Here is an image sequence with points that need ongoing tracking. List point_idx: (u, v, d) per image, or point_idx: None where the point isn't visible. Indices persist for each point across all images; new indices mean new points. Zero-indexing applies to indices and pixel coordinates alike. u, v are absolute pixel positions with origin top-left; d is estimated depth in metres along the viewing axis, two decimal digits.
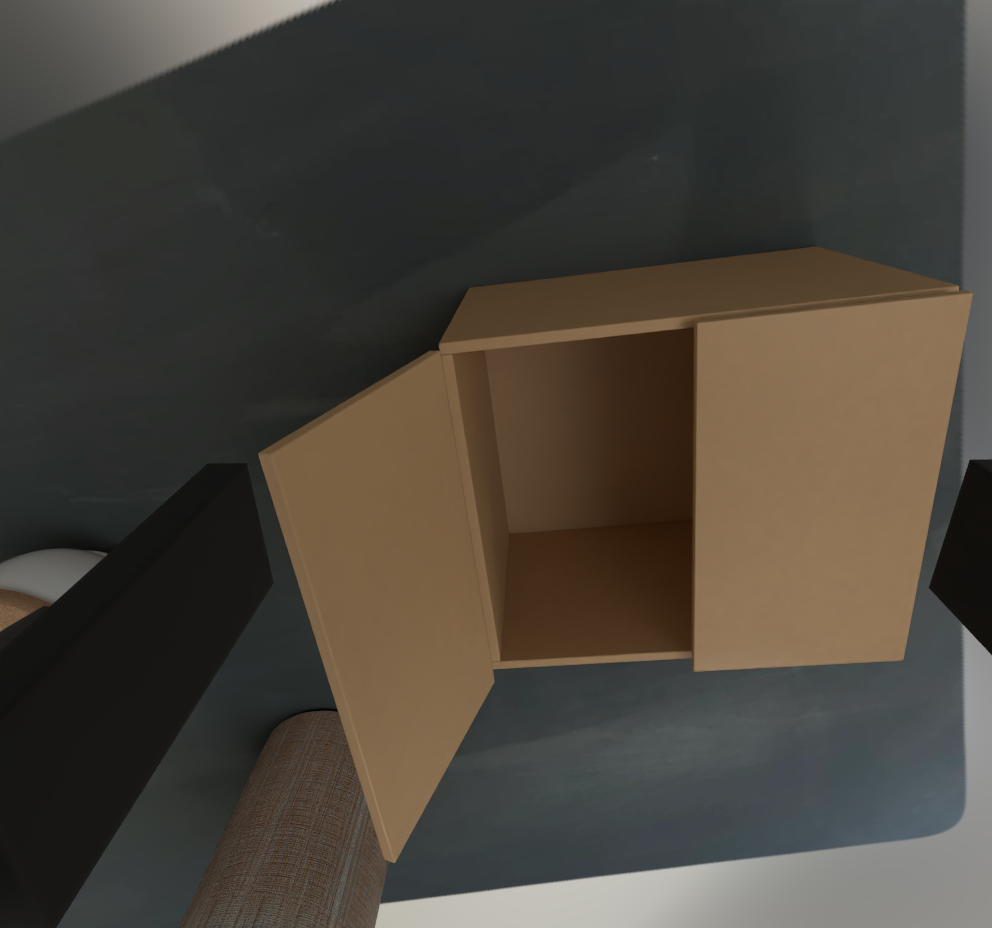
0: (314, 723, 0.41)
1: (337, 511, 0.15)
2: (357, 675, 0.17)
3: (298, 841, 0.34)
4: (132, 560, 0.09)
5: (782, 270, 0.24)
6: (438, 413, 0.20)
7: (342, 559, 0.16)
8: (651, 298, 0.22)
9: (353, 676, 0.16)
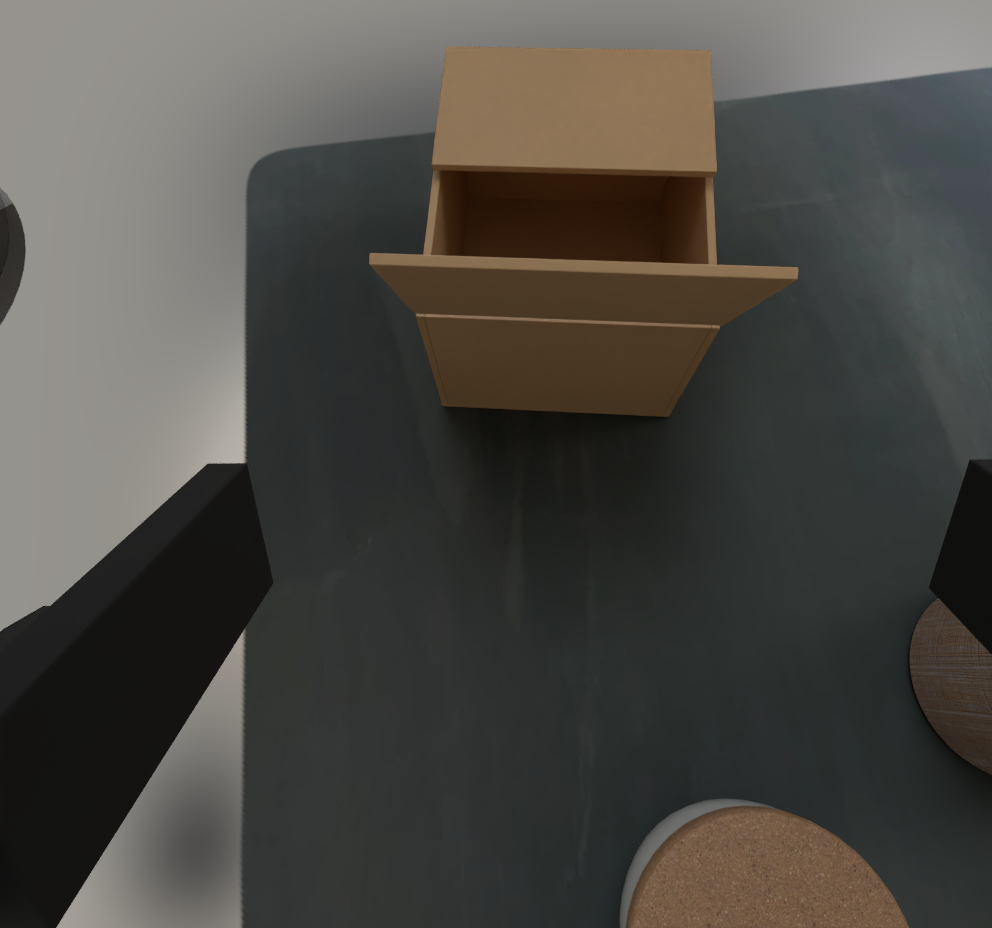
0: (922, 670, 0.32)
1: None
2: None
3: None
4: (132, 560, 0.09)
5: None
6: None
7: None
8: None
9: None
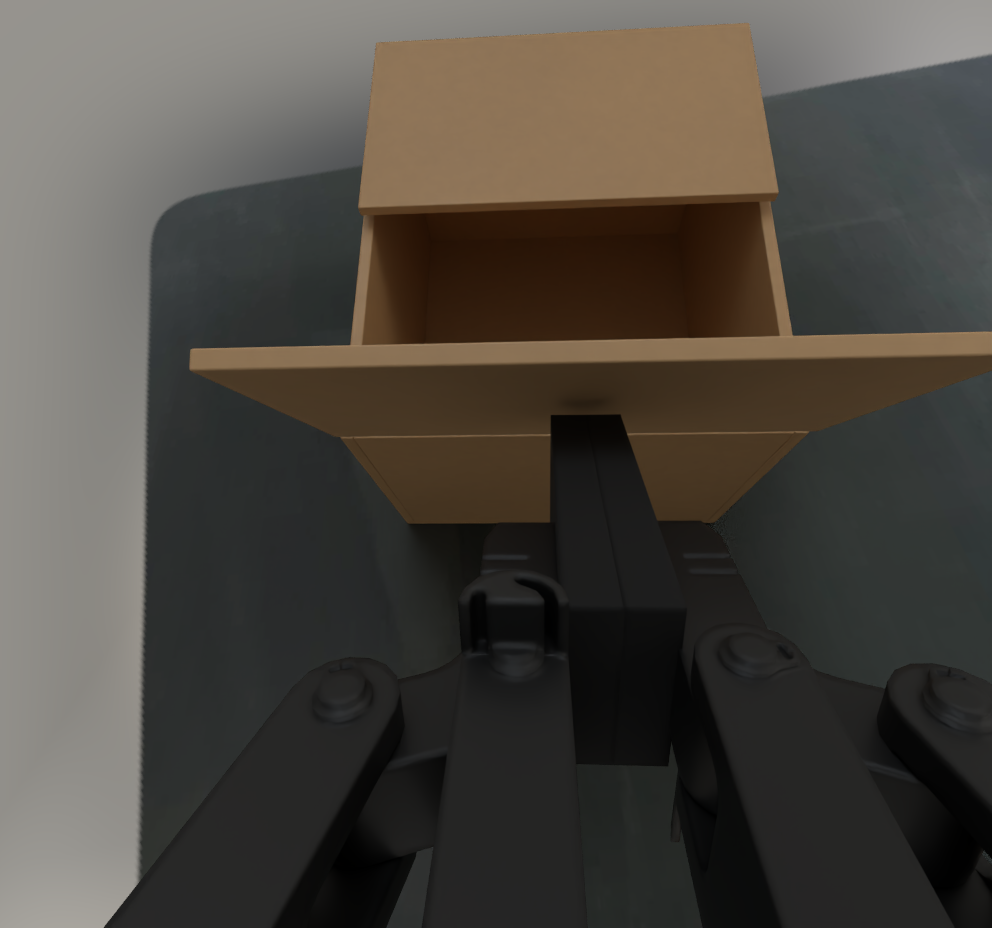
0: None
1: None
2: None
3: None
4: (582, 482, 0.11)
5: None
6: None
7: None
8: None
9: None
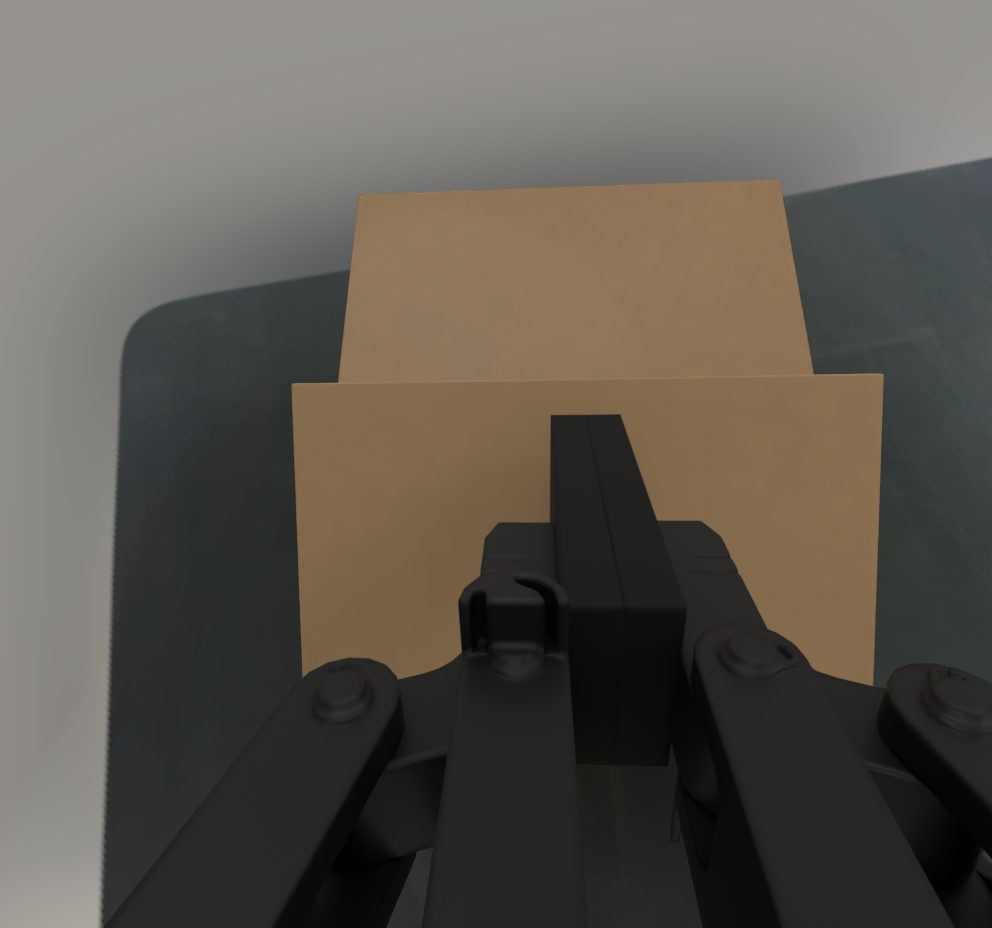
0: None
1: None
2: None
3: None
4: (582, 482, 0.11)
5: None
6: None
7: None
8: None
9: None
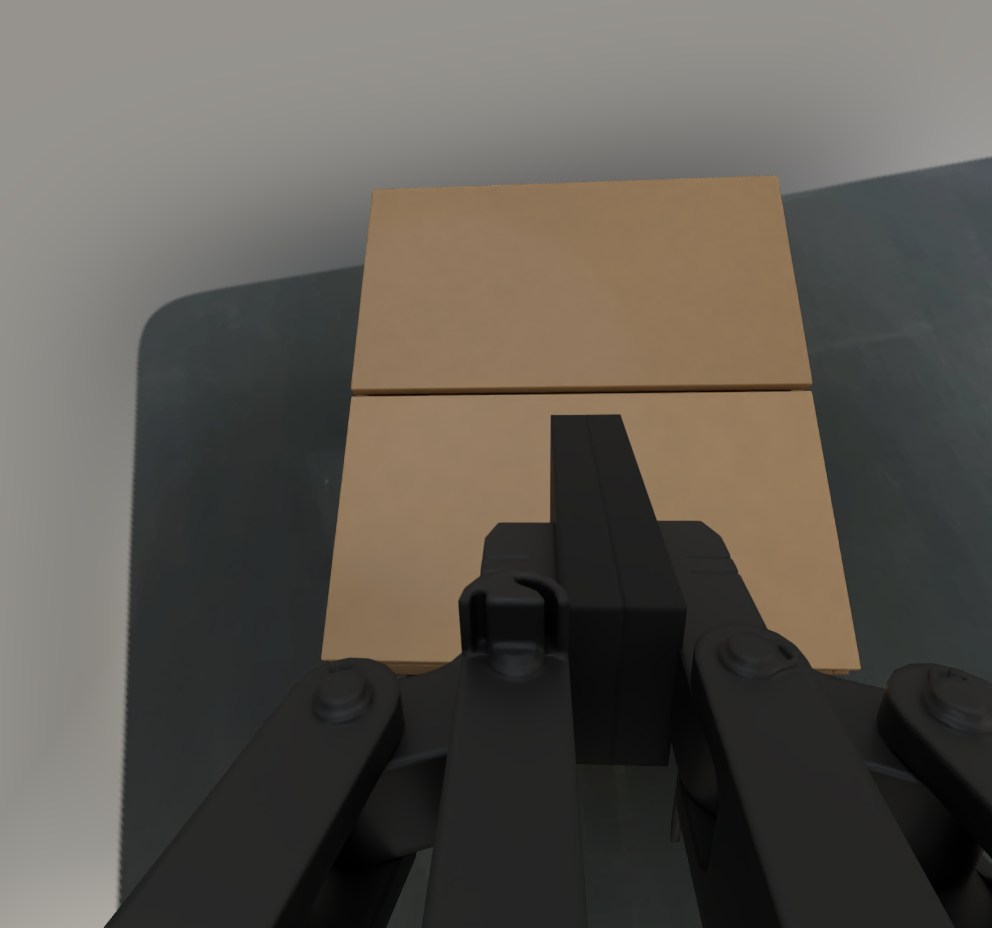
0: None
1: None
2: None
3: None
4: (582, 482, 0.11)
5: None
6: None
7: None
8: None
9: None
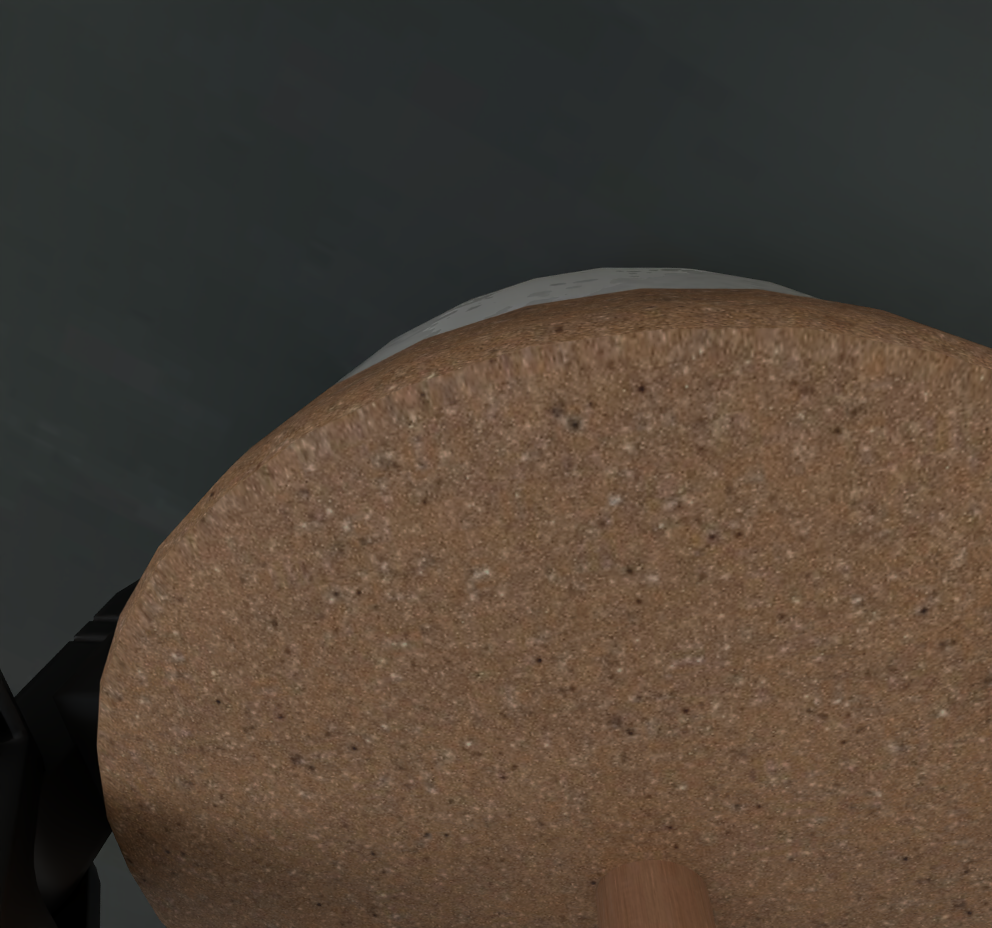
0: None
1: None
2: None
3: None
4: None
5: None
6: None
7: None
8: None
9: None
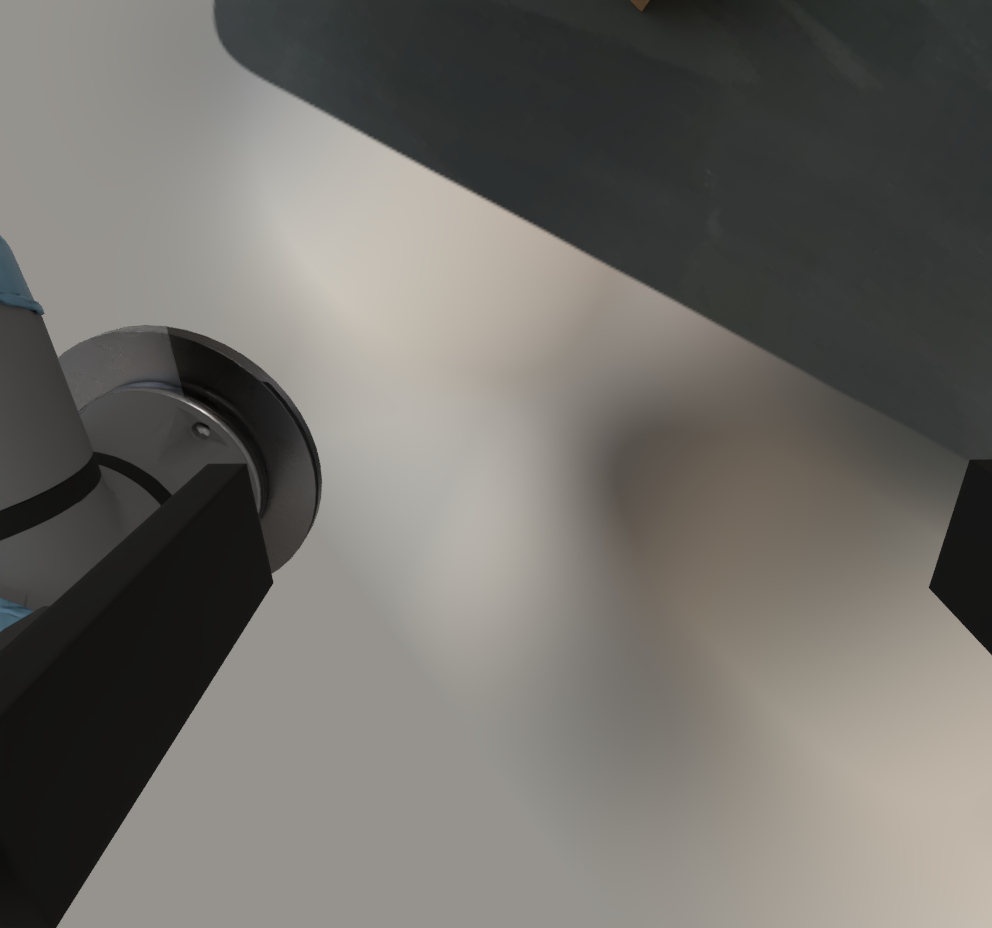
0: None
1: None
2: None
3: None
4: (132, 560, 0.09)
5: None
6: None
7: None
8: None
9: None
